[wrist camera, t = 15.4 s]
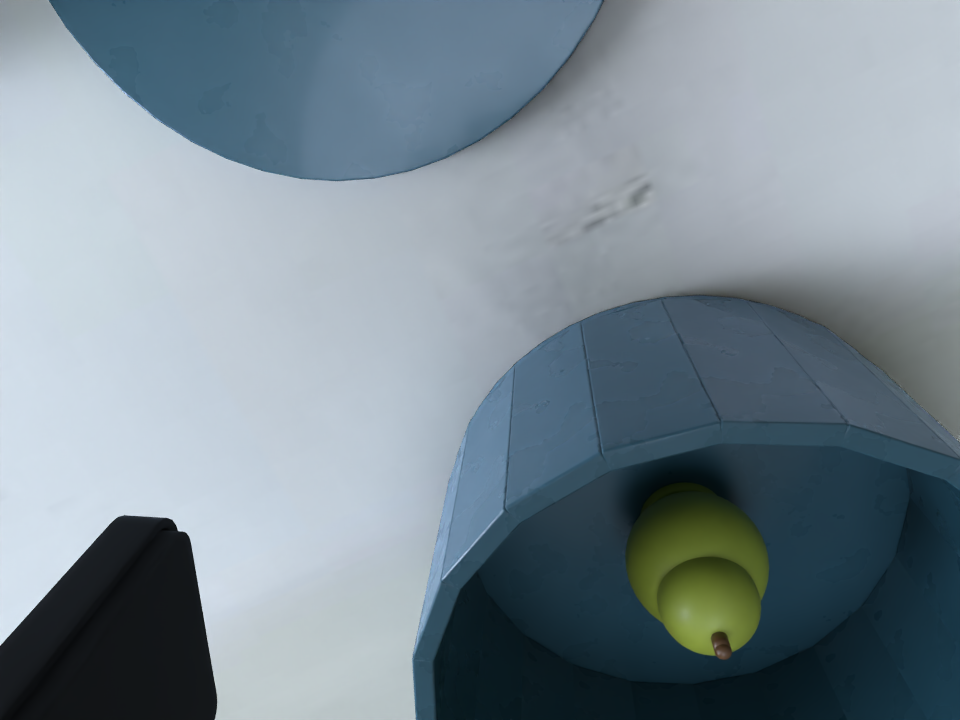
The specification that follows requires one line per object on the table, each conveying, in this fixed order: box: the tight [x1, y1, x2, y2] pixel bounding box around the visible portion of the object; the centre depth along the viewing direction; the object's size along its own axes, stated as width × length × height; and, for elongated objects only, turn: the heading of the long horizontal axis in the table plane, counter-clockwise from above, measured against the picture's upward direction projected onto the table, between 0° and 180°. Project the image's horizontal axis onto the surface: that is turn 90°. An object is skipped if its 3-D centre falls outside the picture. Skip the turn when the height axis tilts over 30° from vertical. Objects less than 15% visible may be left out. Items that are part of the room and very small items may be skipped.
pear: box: [625, 482, 769, 660], centre depth 25 cm, size 5×5×7 cm
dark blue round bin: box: [412, 295, 960, 720], centre depth 24 cm, size 18×18×10 cm
